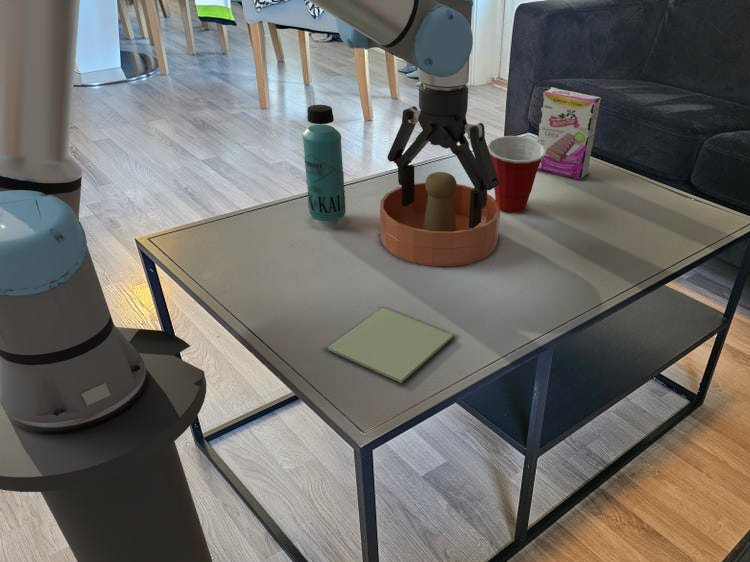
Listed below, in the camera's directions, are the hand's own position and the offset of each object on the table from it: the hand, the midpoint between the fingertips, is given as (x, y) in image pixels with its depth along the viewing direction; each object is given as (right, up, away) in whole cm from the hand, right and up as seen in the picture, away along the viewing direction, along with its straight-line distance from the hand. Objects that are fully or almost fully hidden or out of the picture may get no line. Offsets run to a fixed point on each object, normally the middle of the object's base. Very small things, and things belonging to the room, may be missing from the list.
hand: (440, 214), depth 111 cm
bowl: (0, -3, +3) cm, 4 cm away
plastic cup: (+13, +4, +15) cm, 20 cm away
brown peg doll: (0, -3, +2) cm, 4 cm away
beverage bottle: (-20, 0, +5) cm, 21 cm away
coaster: (-5, -23, -23) cm, 33 cm away
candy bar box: (+24, +16, +31) cm, 42 cm away
